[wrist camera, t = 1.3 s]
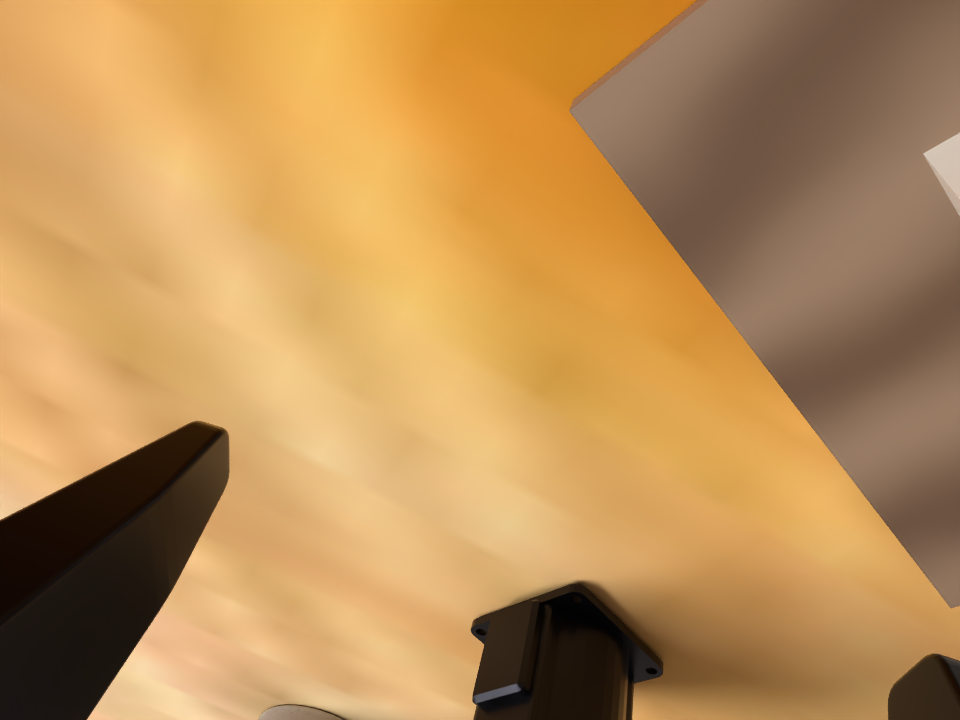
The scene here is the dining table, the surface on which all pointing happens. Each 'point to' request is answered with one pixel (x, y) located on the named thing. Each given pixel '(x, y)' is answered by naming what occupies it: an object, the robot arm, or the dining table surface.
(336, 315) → the dining table surface
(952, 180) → the white block with hole
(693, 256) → the board
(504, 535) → the dining table surface
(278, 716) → the thermos bottle
